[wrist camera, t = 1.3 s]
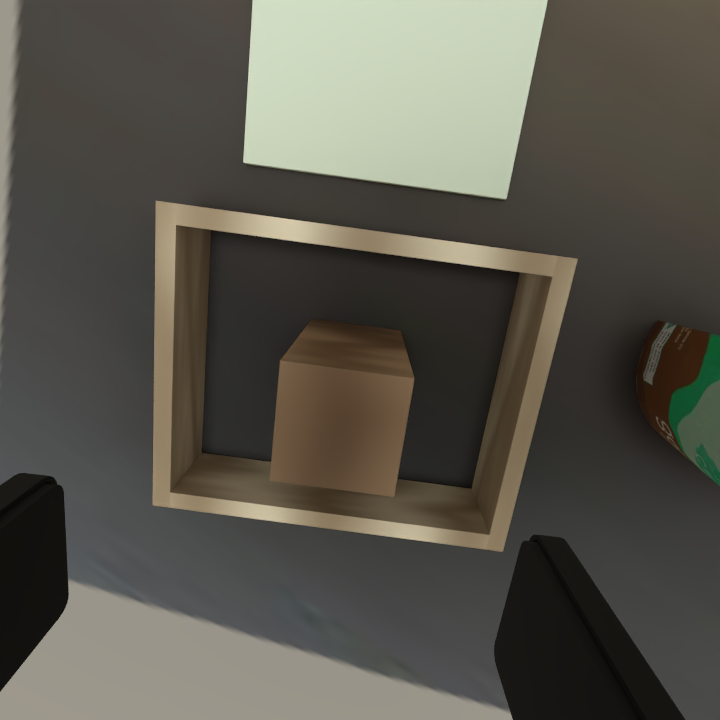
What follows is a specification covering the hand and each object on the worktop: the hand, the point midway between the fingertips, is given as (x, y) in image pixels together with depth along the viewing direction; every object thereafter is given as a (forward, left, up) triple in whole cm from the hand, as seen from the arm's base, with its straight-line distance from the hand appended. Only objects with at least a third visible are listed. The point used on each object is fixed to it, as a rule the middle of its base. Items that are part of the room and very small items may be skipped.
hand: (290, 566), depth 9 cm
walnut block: (-1, 0, -15) cm, 15 cm away
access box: (-1, 0, -15) cm, 15 cm away
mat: (-1, -15, -15) cm, 21 cm away
